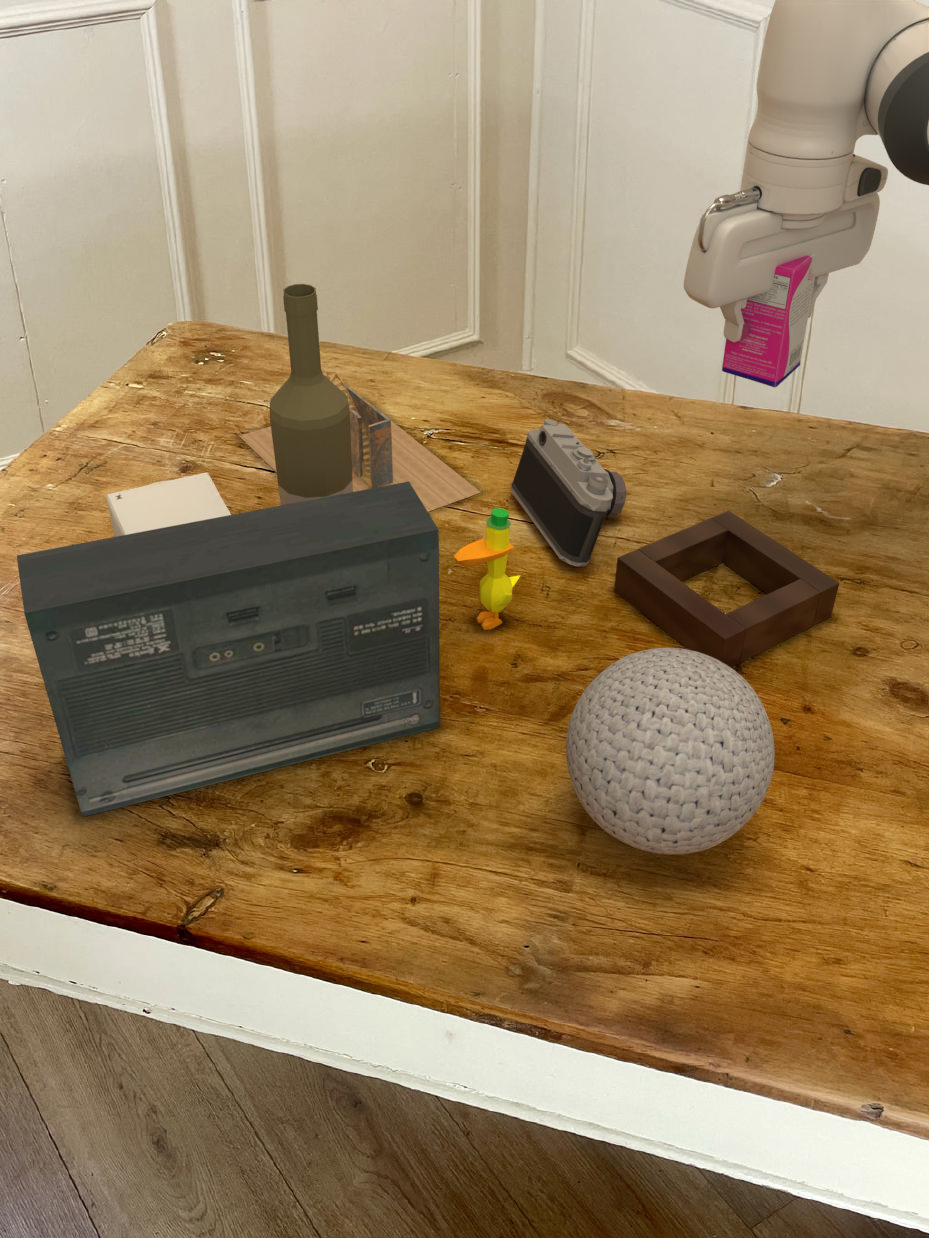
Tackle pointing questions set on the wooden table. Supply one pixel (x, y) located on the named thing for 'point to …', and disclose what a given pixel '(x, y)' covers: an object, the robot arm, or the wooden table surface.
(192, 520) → the white product box
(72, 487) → the wooden table surface
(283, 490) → the bottle
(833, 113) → the robot arm
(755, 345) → the supplement box
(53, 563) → the cassette player
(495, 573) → the toy figure
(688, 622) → the wooden frame
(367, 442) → the architectural model on board
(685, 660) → the decorative ball
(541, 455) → the camera
